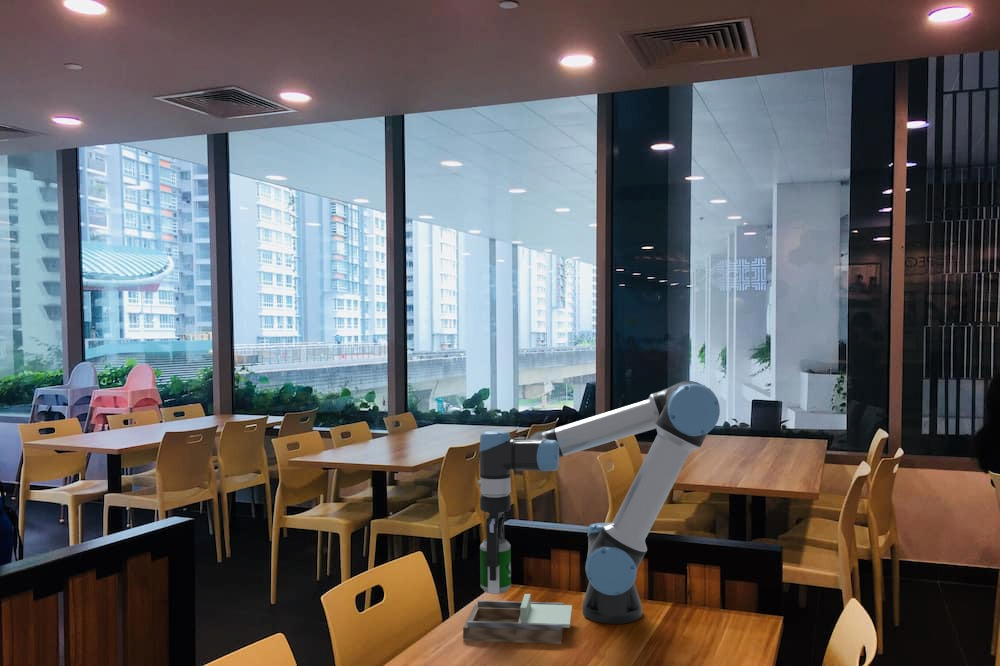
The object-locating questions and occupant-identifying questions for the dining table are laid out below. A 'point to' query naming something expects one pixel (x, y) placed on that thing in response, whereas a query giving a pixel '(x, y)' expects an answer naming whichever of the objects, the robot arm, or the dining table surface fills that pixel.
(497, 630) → the wooden tray box
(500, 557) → the soda can
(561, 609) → the lid
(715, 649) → the dining table surface
